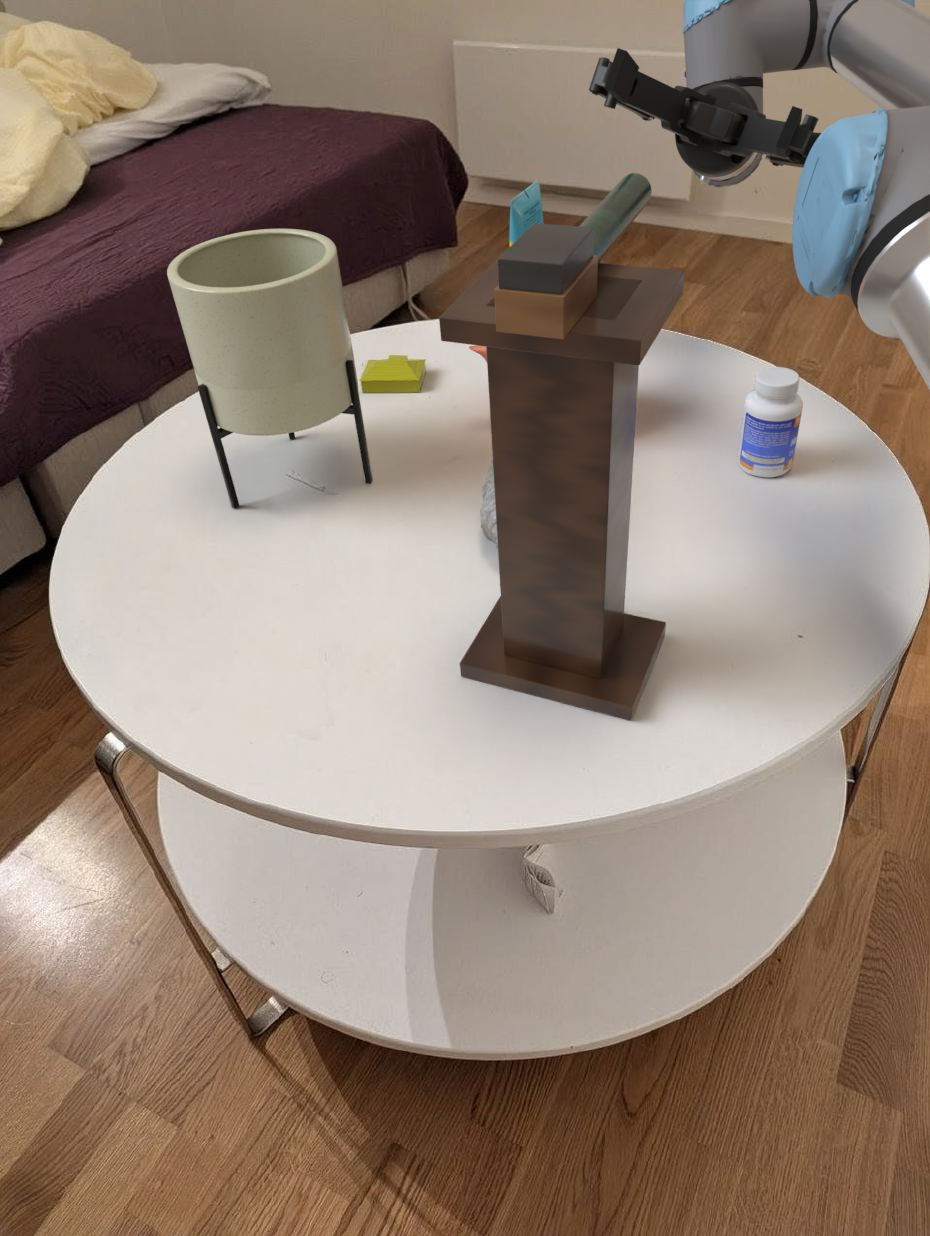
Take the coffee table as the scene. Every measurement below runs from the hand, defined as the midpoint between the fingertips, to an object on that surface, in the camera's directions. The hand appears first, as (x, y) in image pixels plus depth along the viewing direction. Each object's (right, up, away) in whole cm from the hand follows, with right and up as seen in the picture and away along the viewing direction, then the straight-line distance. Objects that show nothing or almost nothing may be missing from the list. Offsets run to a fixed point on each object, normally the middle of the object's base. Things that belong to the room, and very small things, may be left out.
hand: (700, 98), depth 68 cm
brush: (-10, -16, -10) cm, 21 cm away
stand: (-9, -41, +7) cm, 43 cm away
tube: (-9, -5, +48) cm, 50 cm away
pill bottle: (+13, -23, +25) cm, 37 cm away
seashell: (-13, -30, +20) cm, 38 cm away
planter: (-35, -23, +30) cm, 51 cm away
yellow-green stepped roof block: (-26, -9, +45) cm, 53 cm away
